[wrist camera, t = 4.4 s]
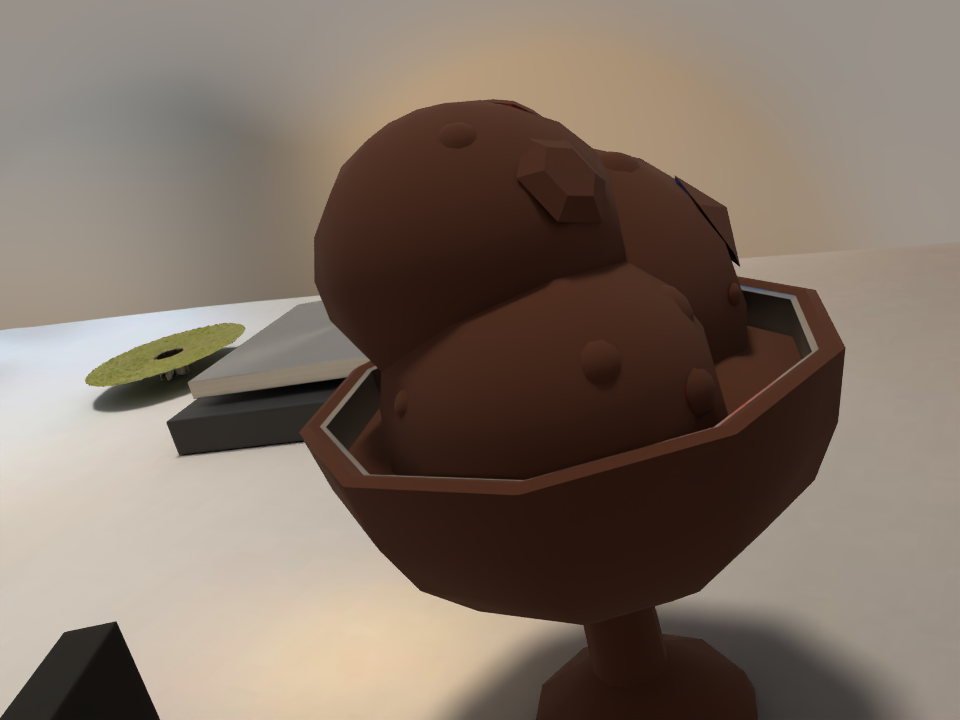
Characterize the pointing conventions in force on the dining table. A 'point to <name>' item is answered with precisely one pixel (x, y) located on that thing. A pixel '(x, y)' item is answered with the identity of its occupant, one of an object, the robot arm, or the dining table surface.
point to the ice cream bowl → (564, 392)
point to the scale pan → (283, 356)
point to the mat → (165, 355)
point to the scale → (249, 417)
